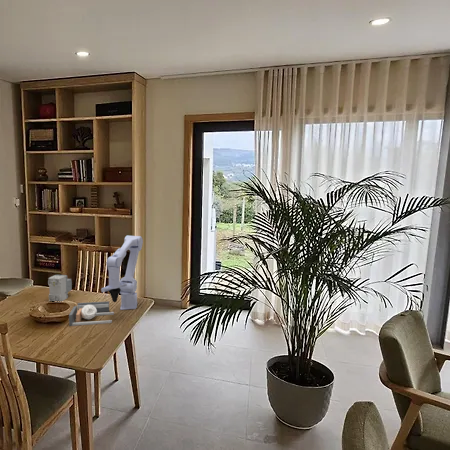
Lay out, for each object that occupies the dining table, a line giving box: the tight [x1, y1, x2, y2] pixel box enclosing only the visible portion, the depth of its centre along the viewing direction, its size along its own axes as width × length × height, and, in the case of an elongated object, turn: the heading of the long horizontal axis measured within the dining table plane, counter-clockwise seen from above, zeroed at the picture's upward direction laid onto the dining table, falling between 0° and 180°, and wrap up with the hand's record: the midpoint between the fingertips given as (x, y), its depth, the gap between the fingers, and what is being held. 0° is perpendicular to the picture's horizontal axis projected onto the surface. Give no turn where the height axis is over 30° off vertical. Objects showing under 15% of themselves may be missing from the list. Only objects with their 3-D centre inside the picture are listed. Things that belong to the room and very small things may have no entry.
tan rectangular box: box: [75, 308, 83, 323], centre depth 173 cm, size 2×8×5 cm, turn 14°
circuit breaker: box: [47, 274, 73, 302], centre depth 203 cm, size 8×14×15 cm, turn 174°
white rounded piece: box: [81, 305, 97, 320], centre depth 175 cm, size 8×8×8 cm
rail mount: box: [68, 301, 115, 327], centre depth 176 cm, size 21×16×6 cm
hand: (114, 301), depth 177 cm, fingers closed
